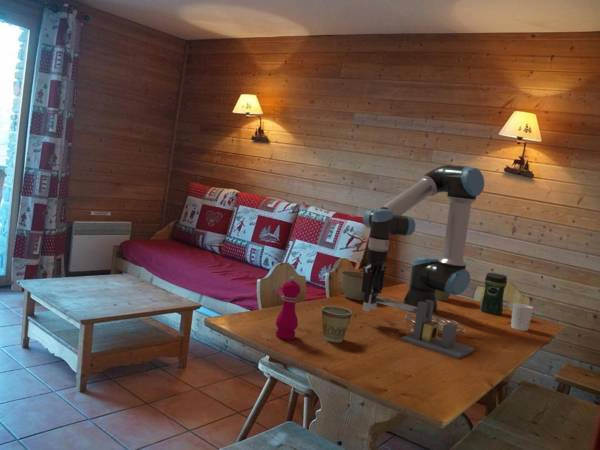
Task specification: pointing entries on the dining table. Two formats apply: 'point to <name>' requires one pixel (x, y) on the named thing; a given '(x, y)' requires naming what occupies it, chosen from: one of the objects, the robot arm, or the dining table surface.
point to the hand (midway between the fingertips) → (369, 309)
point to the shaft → (392, 303)
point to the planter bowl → (352, 284)
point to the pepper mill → (288, 310)
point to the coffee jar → (494, 293)
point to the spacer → (430, 331)
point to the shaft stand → (441, 344)
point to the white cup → (521, 316)
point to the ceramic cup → (335, 322)
